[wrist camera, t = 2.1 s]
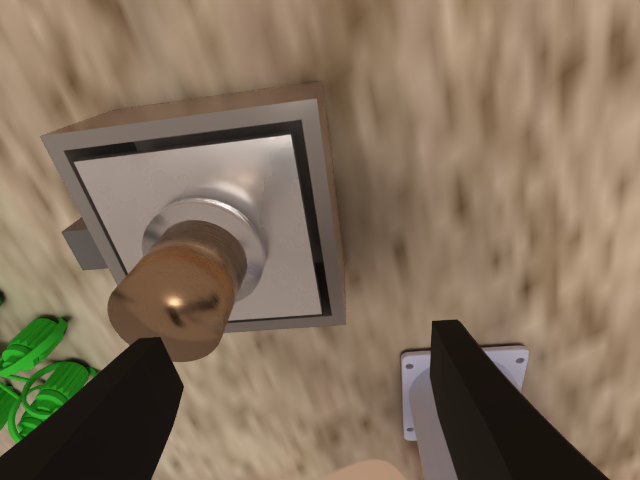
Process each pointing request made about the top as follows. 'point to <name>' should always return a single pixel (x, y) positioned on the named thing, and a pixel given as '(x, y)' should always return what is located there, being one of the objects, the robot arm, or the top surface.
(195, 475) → the top surface
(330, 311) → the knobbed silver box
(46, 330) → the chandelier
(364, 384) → the top surface
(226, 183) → the plunger
